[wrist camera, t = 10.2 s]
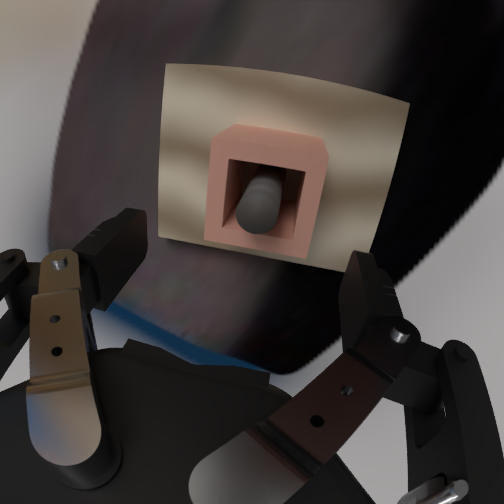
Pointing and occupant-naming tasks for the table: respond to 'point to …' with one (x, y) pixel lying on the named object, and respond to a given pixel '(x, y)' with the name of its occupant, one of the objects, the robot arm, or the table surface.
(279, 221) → the bead
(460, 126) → the table surface
